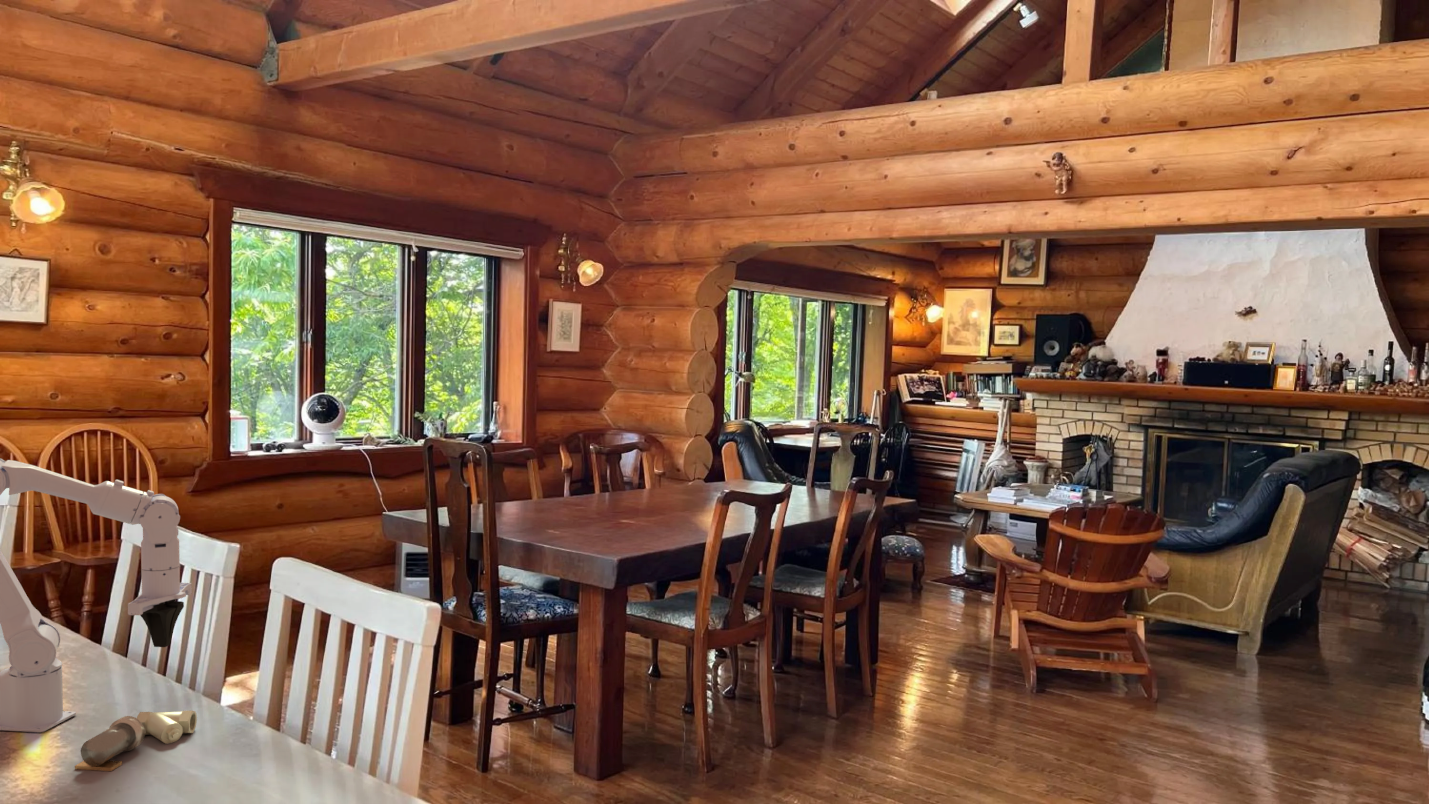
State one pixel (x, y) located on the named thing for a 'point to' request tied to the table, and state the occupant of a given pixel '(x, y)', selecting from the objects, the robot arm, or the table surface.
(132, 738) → the pipe stub
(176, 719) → the pipe fitting
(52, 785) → the table surface
